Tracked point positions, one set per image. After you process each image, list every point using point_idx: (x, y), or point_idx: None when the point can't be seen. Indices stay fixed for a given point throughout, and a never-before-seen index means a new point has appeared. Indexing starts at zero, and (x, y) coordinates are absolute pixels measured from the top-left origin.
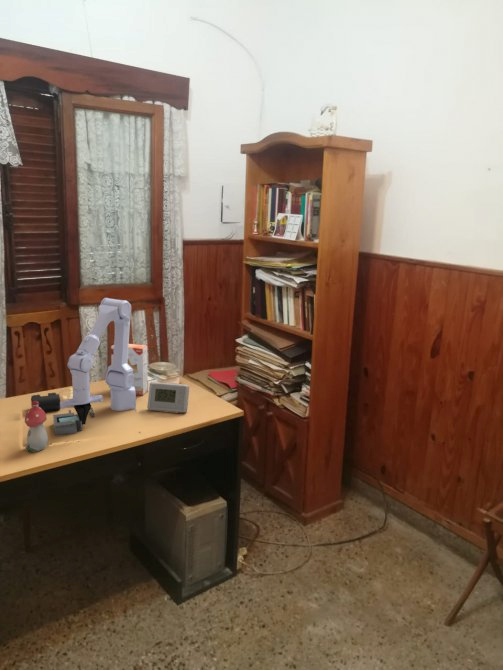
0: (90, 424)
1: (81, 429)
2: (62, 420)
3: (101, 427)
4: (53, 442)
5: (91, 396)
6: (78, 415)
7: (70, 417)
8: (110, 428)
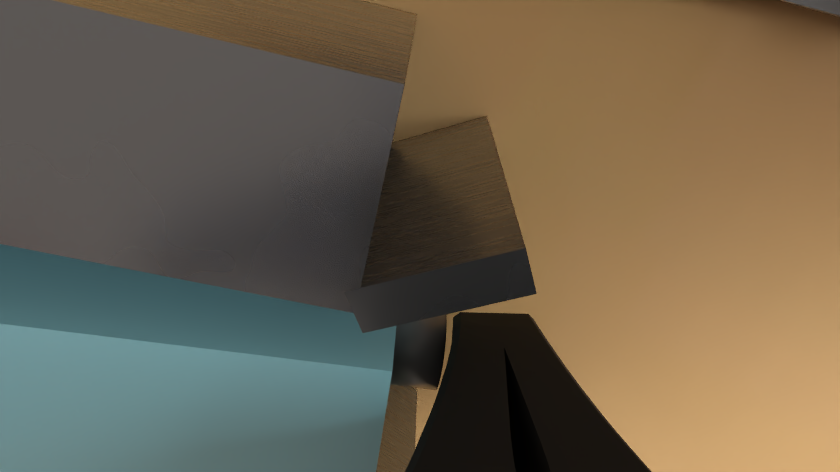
0: (673, 193)
1: (406, 440)
2: (4, 438)
3: (733, 372)
4: None
5: None
6: (433, 442)
7: (218, 380)
8: (800, 445)
